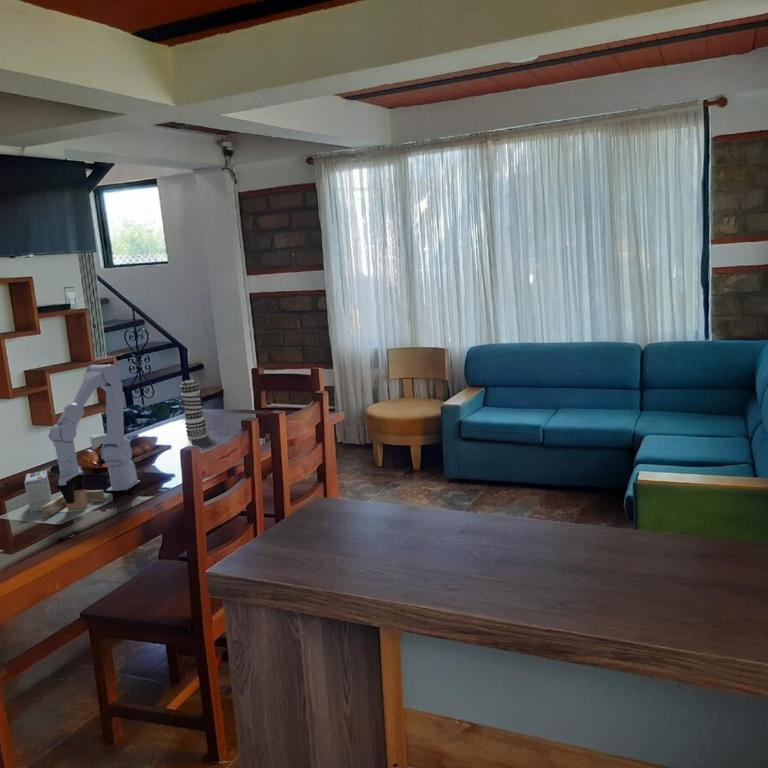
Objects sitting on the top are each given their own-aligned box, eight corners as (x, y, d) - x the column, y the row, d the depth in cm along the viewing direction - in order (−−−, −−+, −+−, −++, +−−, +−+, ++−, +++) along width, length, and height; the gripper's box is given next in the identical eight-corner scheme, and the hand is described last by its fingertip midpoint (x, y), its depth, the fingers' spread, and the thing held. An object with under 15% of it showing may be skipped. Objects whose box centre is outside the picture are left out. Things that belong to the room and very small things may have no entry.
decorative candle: (211, 436, 326) (202, 380, 321) (191, 440, 321) (182, 384, 316) (203, 432, 334) (195, 378, 329) (183, 437, 329) (174, 382, 324)
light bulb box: (31, 503, 256) (25, 473, 254) (52, 499, 258) (47, 469, 256) (29, 512, 246) (23, 481, 244) (51, 508, 248) (45, 477, 246)
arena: (70, 501, 254) (68, 491, 253) (105, 499, 252) (103, 489, 251) (43, 517, 240) (41, 507, 239) (80, 516, 237) (78, 505, 237)
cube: (73, 505, 249) (70, 490, 248) (88, 503, 249) (85, 489, 248) (67, 510, 244) (65, 495, 243) (83, 508, 244) (80, 494, 243)
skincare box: (97, 467, 294) (91, 437, 291) (94, 465, 297) (89, 436, 295) (113, 463, 297) (107, 434, 295) (110, 461, 301) (105, 432, 298)
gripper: (71, 464, 236) (79, 505, 239) (87, 452, 251) (94, 490, 253) (49, 467, 236) (57, 508, 239) (66, 454, 250) (73, 493, 253)
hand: (74, 499), depth 246 cm, fingers open, 7 cm apart
